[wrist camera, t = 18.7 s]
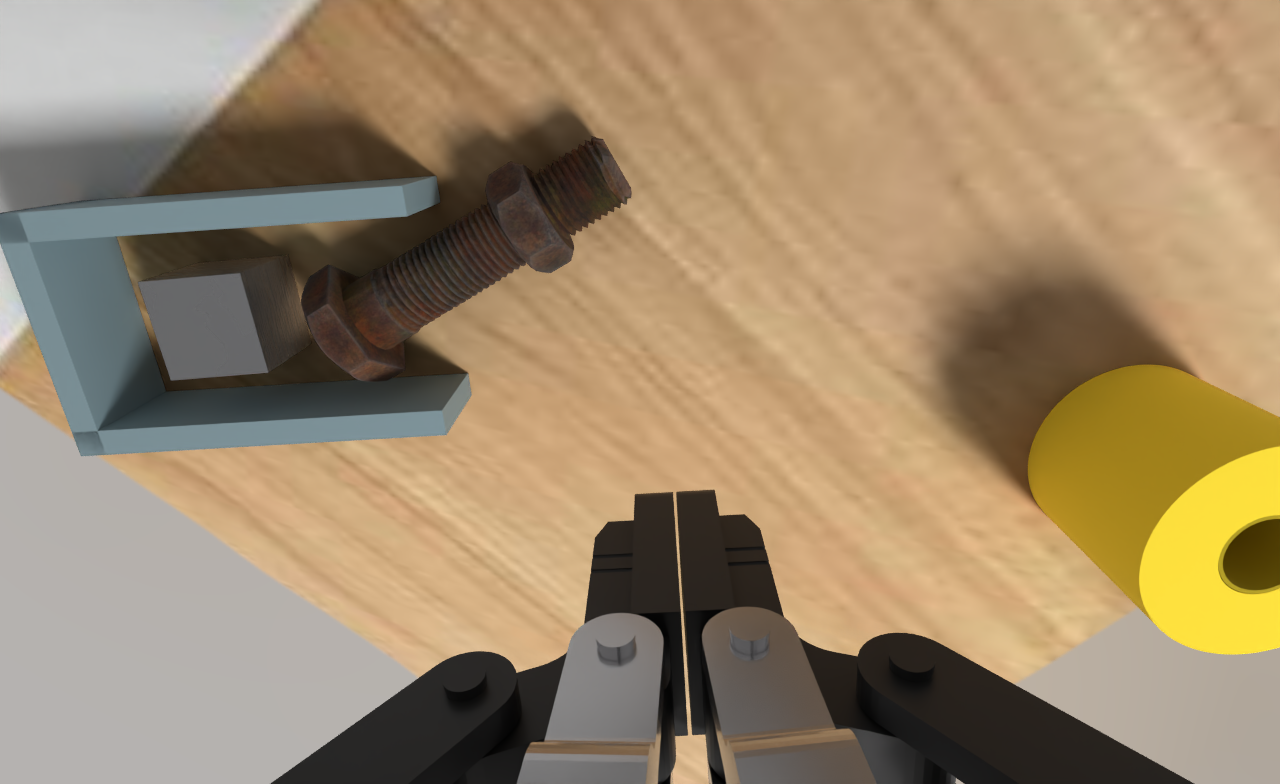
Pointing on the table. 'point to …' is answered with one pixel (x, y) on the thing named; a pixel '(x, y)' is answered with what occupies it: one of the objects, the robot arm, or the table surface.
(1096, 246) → the table surface
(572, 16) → the table surface
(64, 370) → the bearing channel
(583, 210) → the bolt
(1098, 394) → the yellow hollow cylinder
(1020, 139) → the table surface
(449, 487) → the table surface
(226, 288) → the block
